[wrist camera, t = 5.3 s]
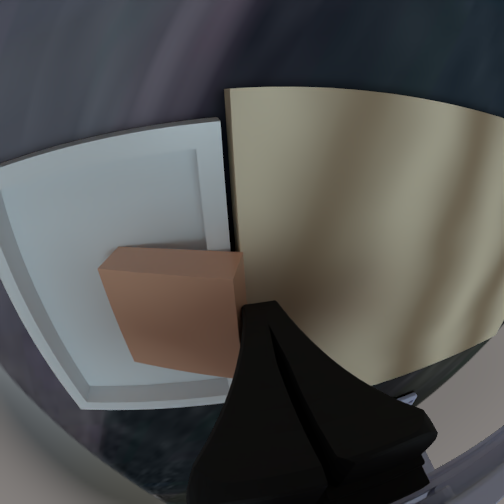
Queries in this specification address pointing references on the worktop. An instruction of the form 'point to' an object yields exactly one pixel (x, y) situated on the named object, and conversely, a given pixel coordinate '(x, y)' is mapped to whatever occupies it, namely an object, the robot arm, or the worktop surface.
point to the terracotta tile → (178, 306)
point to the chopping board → (370, 221)
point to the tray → (108, 250)
